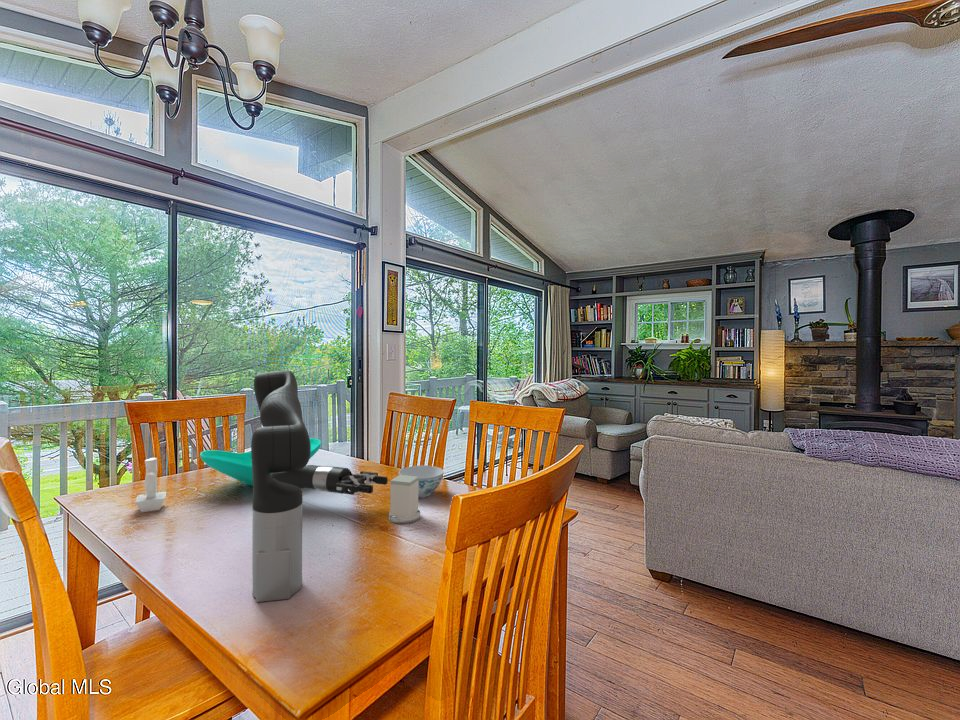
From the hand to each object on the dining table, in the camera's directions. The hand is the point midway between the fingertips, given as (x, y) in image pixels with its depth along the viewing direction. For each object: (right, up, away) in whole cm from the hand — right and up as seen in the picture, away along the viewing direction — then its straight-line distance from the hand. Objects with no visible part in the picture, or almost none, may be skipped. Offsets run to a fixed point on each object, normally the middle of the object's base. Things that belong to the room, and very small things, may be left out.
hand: (380, 485), depth 133 cm
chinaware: (+10, -9, +19) cm, 23 cm away
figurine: (-69, -8, +2) cm, 69 cm away
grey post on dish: (+8, -9, -2) cm, 12 cm away
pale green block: (+7, -7, -2) cm, 11 cm away
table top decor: (-47, -7, +28) cm, 55 cm away
